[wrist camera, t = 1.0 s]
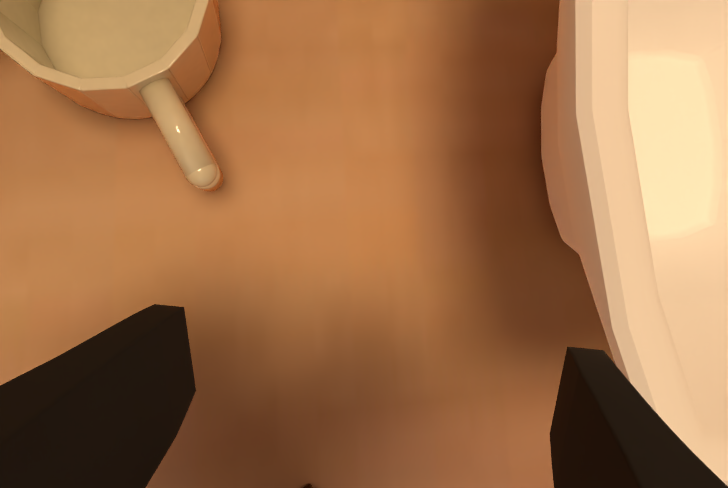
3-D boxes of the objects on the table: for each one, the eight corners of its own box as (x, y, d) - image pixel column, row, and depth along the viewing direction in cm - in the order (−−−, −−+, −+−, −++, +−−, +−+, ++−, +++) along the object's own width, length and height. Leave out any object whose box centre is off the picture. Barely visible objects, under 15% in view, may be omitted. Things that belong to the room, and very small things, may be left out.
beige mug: (-2, -17, 23) (-83, -89, 18) (167, -91, 24) (139, -181, 19) (138, 232, 25) (103, 234, 19) (295, 152, 26) (303, 133, 20)
